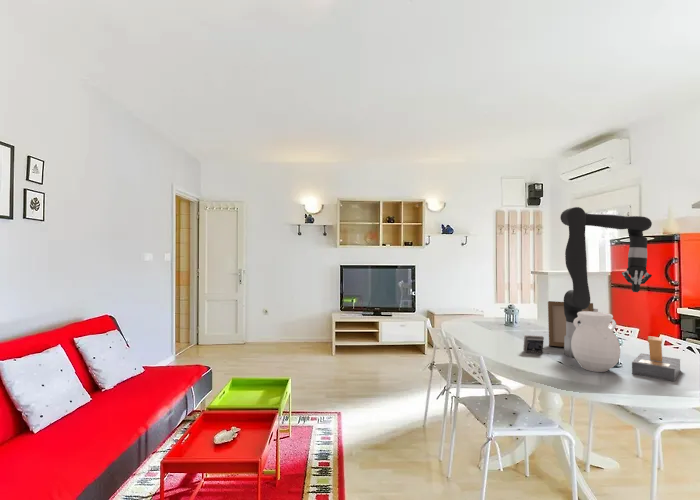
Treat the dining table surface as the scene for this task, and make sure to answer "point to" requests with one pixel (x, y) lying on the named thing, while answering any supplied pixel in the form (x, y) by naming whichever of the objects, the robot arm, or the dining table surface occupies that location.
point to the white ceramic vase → (595, 341)
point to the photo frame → (558, 322)
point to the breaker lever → (655, 348)
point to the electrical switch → (533, 344)
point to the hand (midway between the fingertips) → (635, 292)
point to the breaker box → (656, 367)
